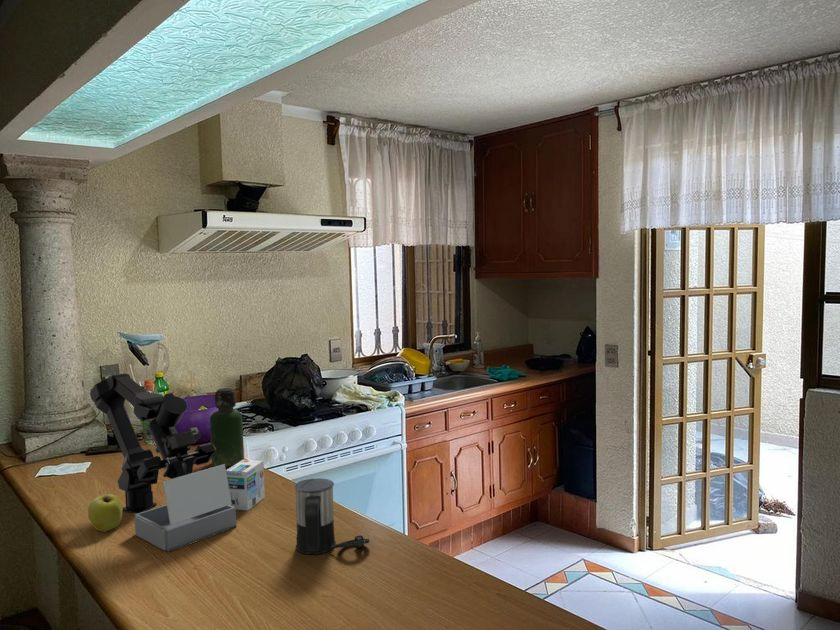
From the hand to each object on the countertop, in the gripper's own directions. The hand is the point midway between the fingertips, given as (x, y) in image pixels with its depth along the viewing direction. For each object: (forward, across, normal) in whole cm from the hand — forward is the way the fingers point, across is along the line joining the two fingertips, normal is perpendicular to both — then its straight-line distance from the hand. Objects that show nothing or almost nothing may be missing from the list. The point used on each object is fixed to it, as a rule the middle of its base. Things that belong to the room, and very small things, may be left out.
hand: (191, 489), depth 154 cm
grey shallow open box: (+6, 0, +10) cm, 12 cm away
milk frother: (+31, +16, -15) cm, 38 cm away
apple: (-6, -12, +22) cm, 26 cm away
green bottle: (-23, +38, +39) cm, 59 cm away
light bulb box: (+3, +20, +13) cm, 24 cm away
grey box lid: (+7, 0, +1) cm, 7 cm away
